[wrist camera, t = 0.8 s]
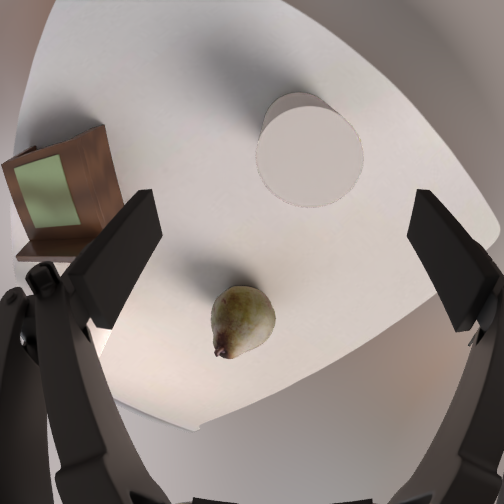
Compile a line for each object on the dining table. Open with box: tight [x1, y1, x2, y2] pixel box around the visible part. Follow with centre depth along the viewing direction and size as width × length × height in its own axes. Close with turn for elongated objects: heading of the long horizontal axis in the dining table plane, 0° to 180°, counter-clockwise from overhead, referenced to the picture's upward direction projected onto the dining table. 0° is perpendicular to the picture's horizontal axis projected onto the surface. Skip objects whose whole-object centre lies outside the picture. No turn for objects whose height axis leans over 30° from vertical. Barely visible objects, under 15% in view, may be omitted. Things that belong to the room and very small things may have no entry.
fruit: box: [211, 286, 276, 359], centre depth 42 cm, size 10×9×12 cm
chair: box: [1, 125, 124, 263], centre depth 32 cm, size 14×16×10 cm
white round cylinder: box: [256, 92, 364, 208], centre depth 25 cm, size 8×8×12 cm
